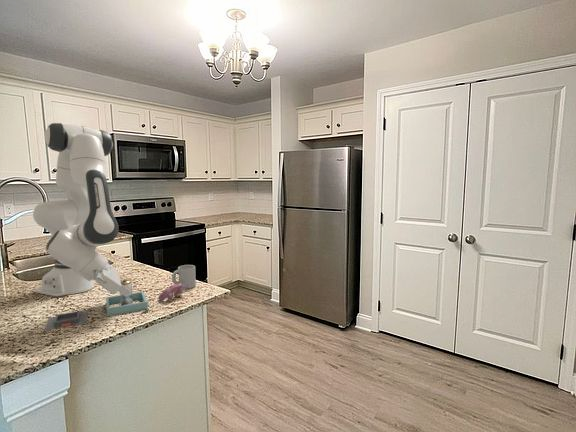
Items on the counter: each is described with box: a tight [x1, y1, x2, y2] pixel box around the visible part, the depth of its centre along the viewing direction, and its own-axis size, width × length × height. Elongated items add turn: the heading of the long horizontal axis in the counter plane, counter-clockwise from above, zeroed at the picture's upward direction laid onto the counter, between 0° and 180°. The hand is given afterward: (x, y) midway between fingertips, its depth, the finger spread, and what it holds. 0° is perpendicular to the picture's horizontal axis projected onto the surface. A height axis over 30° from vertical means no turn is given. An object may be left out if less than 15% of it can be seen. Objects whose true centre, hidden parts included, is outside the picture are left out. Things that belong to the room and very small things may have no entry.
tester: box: [43, 310, 89, 332], centre depth 103 cm, size 11×11×3 cm
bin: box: [105, 291, 149, 317], centre depth 115 cm, size 13×13×4 cm
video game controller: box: [158, 283, 186, 301], centre depth 127 cm, size 10×5×7 cm, turn 150°
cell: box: [119, 278, 134, 306], centre depth 114 cm, size 4×4×9 cm
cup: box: [171, 264, 197, 290], centre depth 140 cm, size 7×10×9 cm
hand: (127, 290), depth 115 cm, fingers closed on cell, 4 cm apart
